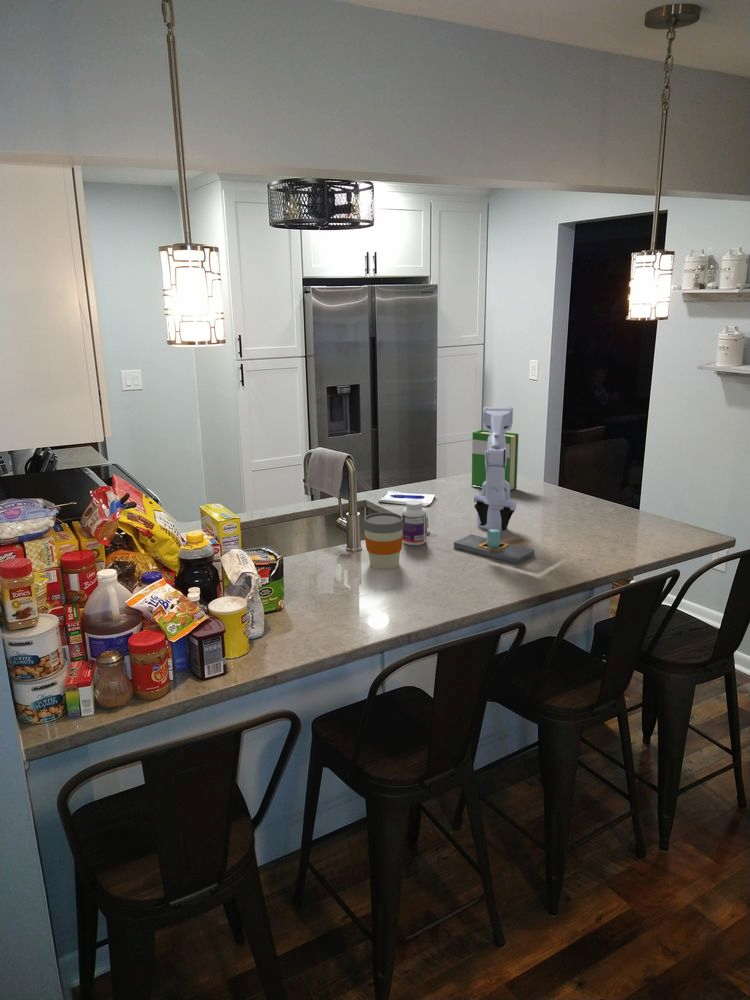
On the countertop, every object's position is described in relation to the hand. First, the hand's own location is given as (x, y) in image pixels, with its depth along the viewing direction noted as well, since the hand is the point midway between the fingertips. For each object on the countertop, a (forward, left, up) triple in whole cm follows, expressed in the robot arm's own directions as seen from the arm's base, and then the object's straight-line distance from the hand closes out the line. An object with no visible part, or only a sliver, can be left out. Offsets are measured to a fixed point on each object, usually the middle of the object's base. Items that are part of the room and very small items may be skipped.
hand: (493, 527), depth 226 cm
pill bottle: (-27, -7, -10) cm, 30 cm away
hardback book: (-44, +68, -10) cm, 82 cm away
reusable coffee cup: (-22, -28, -10) cm, 37 cm away
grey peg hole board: (0, 0, -9) cm, 9 cm away
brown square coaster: (0, +13, -9) cm, 16 cm away
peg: (0, 0, -9) cm, 9 cm away
